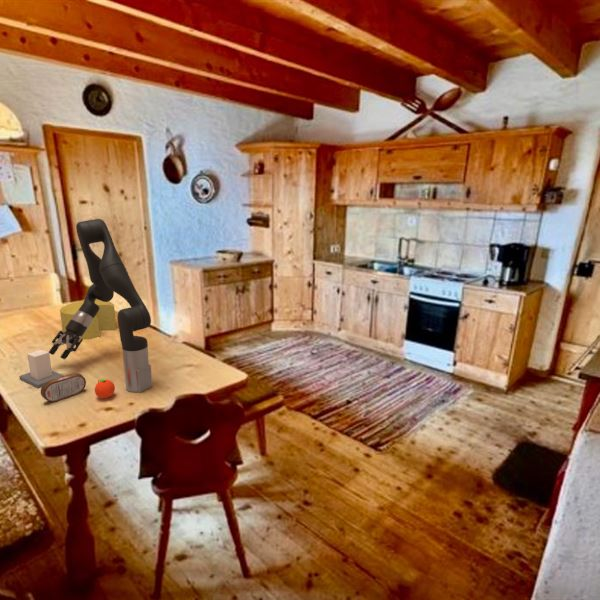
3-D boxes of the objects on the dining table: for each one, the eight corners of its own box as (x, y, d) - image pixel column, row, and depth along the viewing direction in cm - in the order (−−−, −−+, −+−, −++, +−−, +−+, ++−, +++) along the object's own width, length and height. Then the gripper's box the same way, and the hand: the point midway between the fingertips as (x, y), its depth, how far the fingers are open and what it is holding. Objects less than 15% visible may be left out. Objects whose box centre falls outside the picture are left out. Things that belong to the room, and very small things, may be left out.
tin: (84, 388, 155) (82, 369, 153) (88, 391, 153) (85, 371, 151) (41, 403, 144) (38, 382, 142) (45, 406, 142) (41, 385, 140)
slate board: (64, 378, 162) (63, 375, 162) (38, 388, 154) (38, 385, 153) (45, 370, 169) (44, 367, 168) (19, 379, 160) (19, 376, 160)
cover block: (52, 374, 162) (49, 352, 159) (38, 379, 157) (34, 357, 155) (45, 371, 165) (41, 349, 162) (30, 376, 160) (27, 353, 157)
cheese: (118, 335, 212) (116, 308, 208) (62, 342, 200) (58, 314, 196) (114, 321, 234) (111, 297, 230) (63, 327, 221) (60, 301, 217)
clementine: (90, 397, 149) (88, 380, 147) (107, 390, 154) (105, 373, 152) (102, 403, 145) (100, 386, 143) (119, 396, 150) (117, 379, 148)
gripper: (63, 316, 172) (39, 348, 165) (83, 322, 165) (59, 356, 159) (76, 324, 178) (54, 356, 171) (96, 330, 171) (73, 363, 165)
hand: (56, 356), depth 165 cm, fingers open, 8 cm apart
